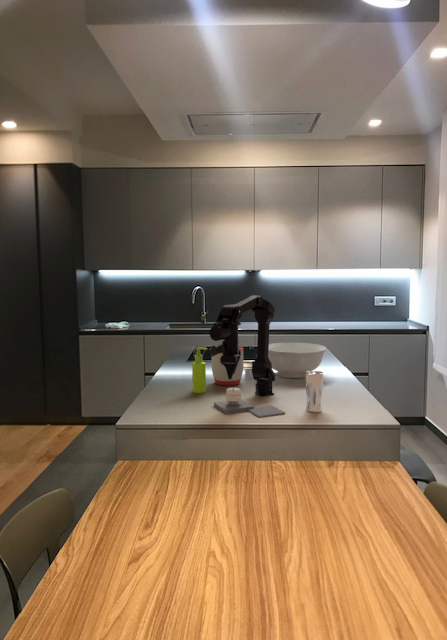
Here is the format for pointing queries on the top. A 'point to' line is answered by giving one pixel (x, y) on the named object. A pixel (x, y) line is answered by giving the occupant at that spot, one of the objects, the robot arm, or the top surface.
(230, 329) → the robot arm
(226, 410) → the plinth
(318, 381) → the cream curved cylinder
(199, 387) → the soap dispenser
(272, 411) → the mat
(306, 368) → the bowl
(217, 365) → the citrus juicer
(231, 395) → the cream domed square block
